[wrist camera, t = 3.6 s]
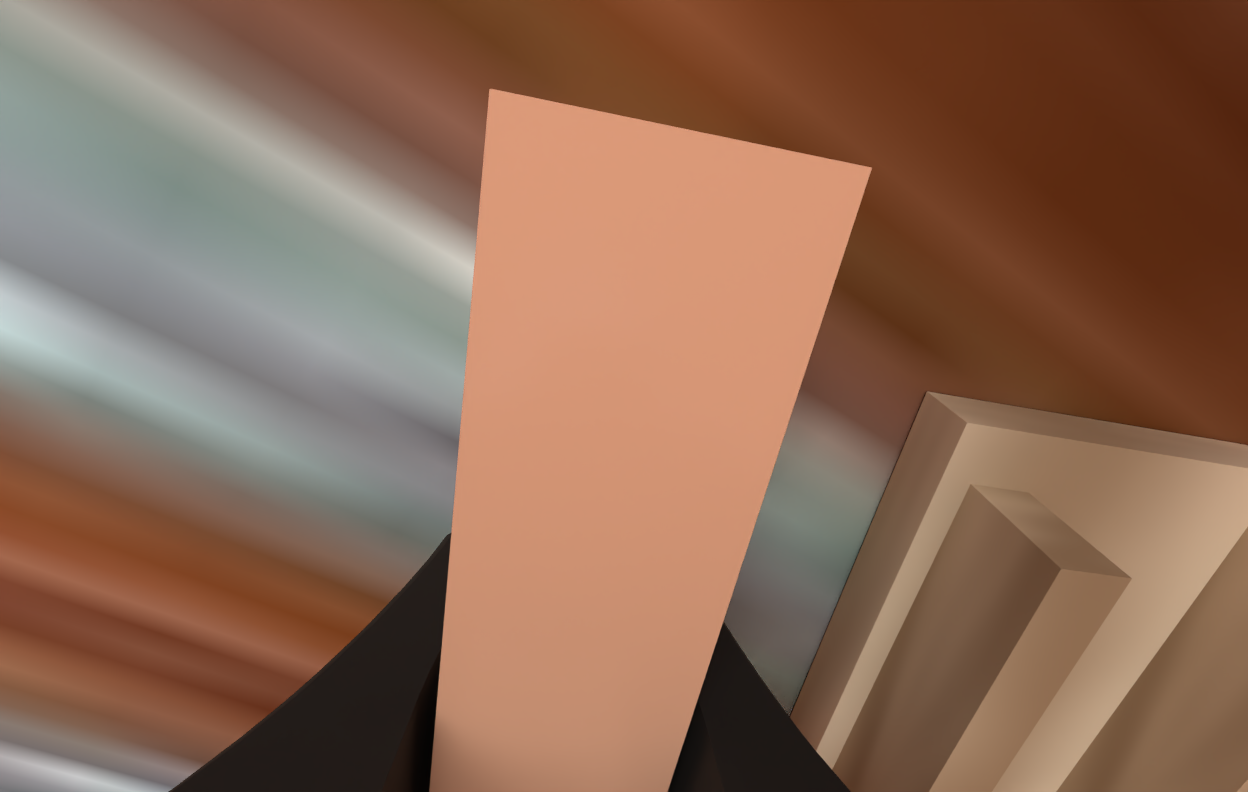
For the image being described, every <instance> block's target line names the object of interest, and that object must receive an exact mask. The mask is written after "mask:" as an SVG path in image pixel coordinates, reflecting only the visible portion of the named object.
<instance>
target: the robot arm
mask: <svg viewBox="0 0 1248 792" xmlns="http://www.w3.org/2000/svg"><path fill="white" fill-rule="evenodd" d="M450 544H451V533H450V534H448V535H447V536H446V537H445V538H444V540H443V541H442V542H441V544H440V545H439V546H438V548H437V549H436V550H435V551H434V553H433V554H432V555H431V556H430V558H429V559H428V560H427V561H426V562H425V564H424V565H423V566H422V567H421V568H420V570H419V571H418V572H417V573H416V574H415V575H414V576H413V577H412V579H411V580H410V581H409V582H408V583H407V584H406V585H405V587H404V588H403V589H402V590H401V591H400V592H399V593H398V594H397V595H396V596H395V597H394V598H393V599H392V600H391V601H390V602H389V604H388V605H387V606H386V607H385V608H384V609H383V610H382V611H381V612H380V613H379V614H378V615H377V616H376V617H375V618H374V619H373V620H372V621H371V622H370V623H369V624H368V625H367V626H366V627H365V628H364V629H363V630H362V631H361V632H360V633H359V634H358V635H357V636H356V637H355V638H354V639H353V640H352V641H351V642H350V643H349V644H348V645H347V646H345V647H344V648H343V649H342V650H341V651H340V652H339V653H338V654H337V655H336V656H335V657H334V658H333V659H332V660H331V661H330V662H329V663H327V664H326V665H325V666H324V667H323V668H322V669H321V670H320V671H319V672H318V673H317V674H316V675H315V676H313V677H312V678H311V679H310V680H309V681H308V682H307V683H305V684H304V685H303V686H302V687H301V688H300V689H299V690H297V691H296V692H295V693H294V694H293V695H292V696H290V697H289V698H288V699H287V700H286V701H285V702H283V703H282V704H281V705H280V706H279V707H278V708H276V709H275V710H274V711H273V712H271V713H270V714H269V715H268V716H266V717H265V718H264V719H263V720H262V721H260V722H259V723H258V724H257V725H255V726H254V727H253V728H252V729H251V730H249V731H248V732H247V733H246V734H244V735H243V736H242V737H241V738H239V739H238V740H237V741H235V742H234V743H233V744H231V745H230V746H229V747H227V748H226V749H225V750H224V751H222V752H221V753H220V754H218V755H217V756H216V757H214V758H213V759H212V760H210V761H209V762H208V763H206V764H205V765H204V766H202V767H201V768H200V769H199V770H197V771H196V772H195V773H193V774H192V775H191V776H189V777H188V778H187V779H185V780H184V781H183V782H181V783H180V784H179V785H177V786H176V787H174V788H173V789H172V790H170V791H169V792H429V789H430V777H431V766H432V754H433V742H434V731H435V719H436V707H437V696H438V684H439V672H440V661H441V649H442V638H443V626H444V614H445V603H446V591H447V579H448V568H449V556H450ZM668 792H851V791H850V790H849V789H848V788H847V786H846V785H845V784H844V783H843V782H842V781H841V780H840V778H839V777H838V776H837V775H836V774H835V773H834V771H833V770H832V769H831V768H830V767H829V766H828V764H827V763H826V762H825V761H824V760H823V759H822V757H821V756H820V755H819V754H818V753H817V752H816V750H815V749H814V748H813V747H812V745H811V744H810V743H809V742H808V740H807V739H806V738H805V737H804V735H803V734H802V733H801V732H800V730H799V729H798V728H797V726H796V725H795V724H794V722H793V721H792V720H791V718H790V717H789V716H788V714H787V713H786V712H785V710H784V709H783V708H782V706H781V705H780V704H779V702H778V701H777V700H776V698H775V697H774V696H773V694H772V693H771V691H770V690H769V689H768V687H767V686H766V684H765V683H764V682H763V680H762V679H761V677H760V676H759V675H758V673H757V672H756V670H755V669H754V667H753V666H752V664H751V663H750V661H749V660H748V658H747V657H746V655H745V654H744V652H743V651H742V649H741V648H740V646H739V645H738V643H737V642H736V640H735V639H734V637H733V636H732V634H731V633H730V631H729V630H728V628H727V626H726V625H725V623H724V622H723V624H722V627H721V630H720V633H719V636H718V639H717V642H716V645H715V648H714V651H713V654H712V657H711V660H710V664H709V667H708V670H707V673H706V676H705V679H704V682H703V685H702V688H701V691H700V694H699V697H698V700H697V703H696V706H695V709H694V712H693V715H692V718H691V722H690V725H689V728H688V731H687V734H686V737H685V740H684V743H683V746H682V749H681V752H680V755H679V758H678V761H677V764H676V767H675V770H674V773H673V776H672V779H671V783H670V786H669V789H668Z"/></svg>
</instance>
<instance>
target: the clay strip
mask: <svg viewBox="0 0 1248 792" xmlns="http://www.w3.org/2000/svg"><path fill="white" fill-rule="evenodd" d="M871 169H872V168H871V167H866V166H861V165H856V164H851V163H846V162H842V161H837V160H832V159H827V158H822V157H817V156H813V155H808V154H803V153H798V152H793V151H788V150H784V149H779V148H774V147H769V146H764V145H760V144H755V143H750V142H745V141H740V140H735V139H731V138H726V137H721V136H716V135H711V134H706V133H702V132H697V131H692V130H687V129H682V128H677V127H673V126H668V125H663V124H658V123H653V122H649V121H644V120H639V119H634V118H629V117H624V116H620V115H615V114H610V113H605V112H600V111H595V110H591V109H586V108H581V107H576V106H571V105H566V104H562V103H557V102H552V101H547V100H542V99H537V98H533V97H528V96H523V95H518V94H513V93H509V92H504V91H499V90H494V89H490V91H489V102H488V114H487V126H486V137H485V149H484V160H483V172H482V184H481V195H480V207H479V219H478V230H477V242H476V254H475V265H474V277H473V289H472V300H471V312H470V323H469V335H468V347H467V358H466V370H465V382H464V393H463V405H462V416H461V428H460V440H459V451H458V463H457V475H456V486H455V498H454V510H453V521H452V533H451V544H450V556H449V568H448V579H447V591H446V603H445V614H444V626H443V638H442V649H441V661H440V672H439V684H438V696H437V707H436V719H435V731H434V742H433V754H432V766H431V777H430V789H429V792H668V789H669V786H670V783H671V779H672V776H673V773H674V770H675V767H676V764H677V761H678V758H679V755H680V752H681V749H682V746H683V743H684V740H685V737H686V734H687V731H688V728H689V725H690V722H691V718H692V715H693V712H694V709H695V706H696V703H697V700H698V697H699V694H700V691H701V688H702V685H703V682H704V679H705V676H706V673H707V670H708V667H709V664H710V660H711V657H712V654H713V651H714V648H715V645H716V642H717V639H718V636H719V633H720V630H721V627H722V624H723V621H724V618H725V615H726V612H727V609H728V606H729V603H730V599H731V596H732V593H733V590H734V587H735V584H736V581H737V578H738V575H739V572H740V569H741V566H742V563H743V560H744V557H745V554H746V551H747V548H748V545H749V541H750V538H751V535H752V532H753V529H754V526H755V523H756V520H757V517H758V514H759V511H760V508H761V505H762V502H763V499H764V496H765V493H766V490H767V487H768V484H769V480H770V477H771V474H772V471H773V468H774V465H775V462H776V459H777V456H778V453H779V450H780V447H781V444H782V441H783V438H784V435H785V432H786V429H787V426H788V422H789V419H790V416H791V413H792V410H793V407H794V404H795V401H796V398H797V395H798V392H799V389H800V386H801V383H802V380H803V377H804V374H805V371H806V368H807V365H808V361H809V358H810V355H811V352H812V349H813V346H814V343H815V340H816V337H817V334H818V331H819V328H820V325H821V322H822V319H823V316H824V313H825V310H826V307H827V303H828V300H829V297H830V294H831V291H832V288H833V285H834V282H835V279H836V276H837V273H838V270H839V267H840V264H841V261H842V258H843V255H844V252H845V249H846V246H847V242H848V239H849V236H850V233H851V230H852V227H853V224H854V221H855V218H856V215H857V212H858V209H859V206H860V203H861V200H862V197H863V194H864V191H865V188H866V184H867V181H868V178H869V175H870V172H871Z"/></svg>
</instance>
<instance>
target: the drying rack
mask: <svg viewBox="0 0 1248 792" xmlns="http://www.w3.org/2000/svg"><path fill="white" fill-rule="evenodd" d="M790 718H791V720H792V721H793V722H794V724H795V725H796V726H797V728H798V729H799V730H800V732H801V733H802V734H803V735H804V737H805V738H806V739H807V740H808V742H809V743H810V744H811V745H812V747H813V748H814V749H815V750H816V752H817V753H818V754H819V755H820V756H821V757H822V759H823V760H824V761H825V762H826V763H827V764H828V766H829V767H830V768H831V769H832V770H833V771H834V773H835V774H836V775H837V776H838V777H839V778H840V780H841V781H842V782H843V783H844V784H845V785H846V786H847V788H848V789H849V790H850V791H851V792H1248V445H1244V444H1238V443H1232V442H1226V441H1220V440H1214V439H1208V438H1202V437H1196V436H1190V435H1184V434H1178V433H1173V432H1167V431H1161V430H1155V429H1149V428H1143V427H1137V426H1131V425H1125V424H1119V423H1113V422H1107V421H1101V420H1095V419H1089V418H1083V417H1077V416H1071V415H1065V414H1059V413H1053V412H1047V411H1041V410H1035V409H1029V408H1023V407H1017V406H1011V405H1005V404H999V403H993V402H987V401H981V400H975V399H969V398H963V397H957V396H951V395H945V394H939V393H933V392H926V395H925V397H924V399H923V402H922V404H921V407H920V409H919V411H918V414H917V416H916V418H915V421H914V423H913V426H912V428H911V430H910V433H909V435H908V437H907V440H906V442H905V445H904V447H903V449H902V452H901V454H900V457H899V459H898V461H897V464H896V466H895V468H894V471H893V473H892V476H891V478H890V480H889V483H888V485H887V487H886V490H885V492H884V495H883V497H882V499H881V502H880V504H879V506H878V509H877V511H876V514H875V516H874V518H873V521H872V523H871V525H870V528H869V530H868V533H867V535H866V537H865V540H864V542H863V545H862V547H861V549H860V552H859V554H858V556H857V559H856V561H855V564H854V566H853V568H852V571H851V573H850V575H849V578H848V580H847V583H846V585H845V587H844V590H843V592H842V594H841V597H840V599H839V602H838V604H837V606H836V609H835V611H834V613H833V616H832V618H831V621H830V623H829V625H828V628H827V630H826V632H825V635H824V637H823V640H822V642H821V644H820V647H819V649H818V652H817V654H816V656H815V659H814V661H813V663H812V666H811V668H810V671H809V673H808V675H807V678H806V680H805V682H804V685H803V687H802V690H801V692H800V694H799V697H798V699H797V701H796V704H795V706H794V709H793V711H792V713H791V716H790Z"/></svg>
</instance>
